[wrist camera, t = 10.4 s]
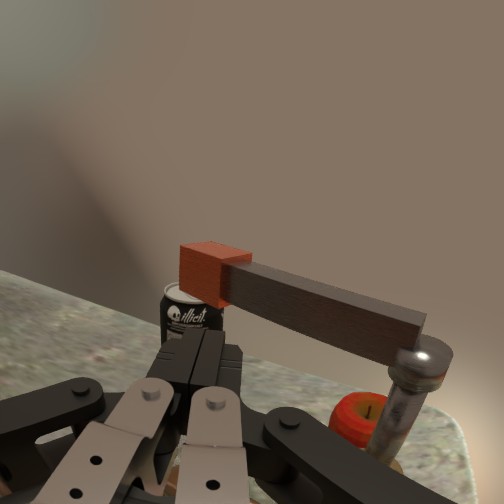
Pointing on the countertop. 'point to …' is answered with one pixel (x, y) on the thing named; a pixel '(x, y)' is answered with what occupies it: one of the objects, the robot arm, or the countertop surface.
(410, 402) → the valve base
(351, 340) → the valve lever
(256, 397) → the countertop surface
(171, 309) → the beverage can
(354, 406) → the apple
